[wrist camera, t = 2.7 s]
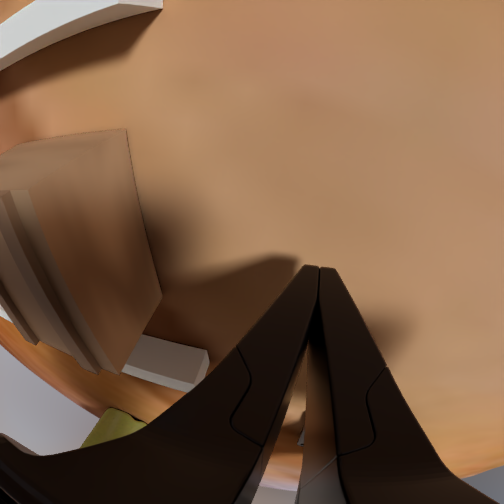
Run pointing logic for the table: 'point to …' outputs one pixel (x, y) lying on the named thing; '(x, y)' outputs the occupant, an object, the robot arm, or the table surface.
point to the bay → (51, 31)
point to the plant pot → (112, 427)
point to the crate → (76, 248)
